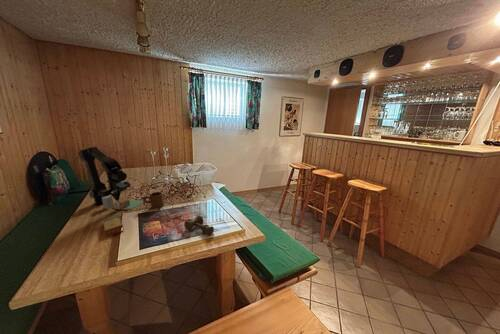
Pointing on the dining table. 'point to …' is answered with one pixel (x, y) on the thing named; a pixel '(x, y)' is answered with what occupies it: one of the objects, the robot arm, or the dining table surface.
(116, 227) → the carton
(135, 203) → the felt mat
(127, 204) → the walnut block
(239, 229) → the dining table surface
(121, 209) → the batten
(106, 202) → the grey block
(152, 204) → the mug
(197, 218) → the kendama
